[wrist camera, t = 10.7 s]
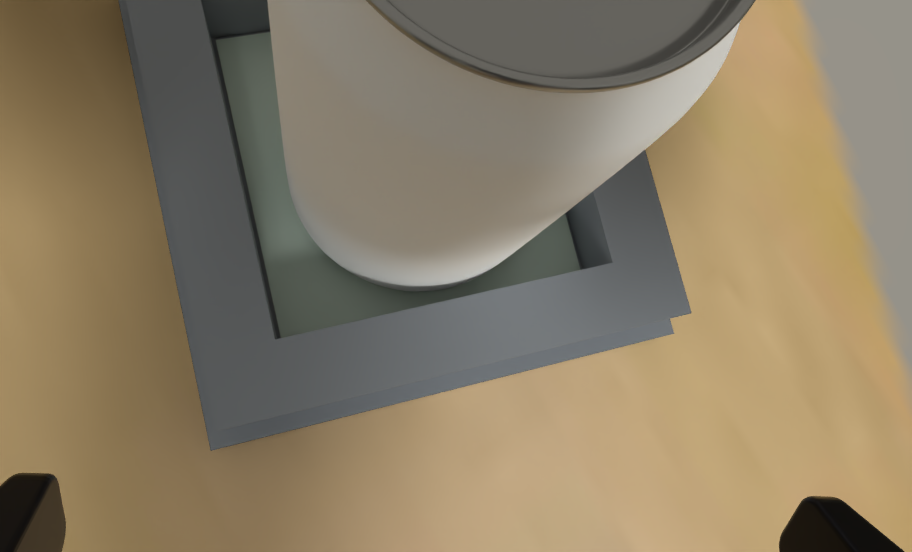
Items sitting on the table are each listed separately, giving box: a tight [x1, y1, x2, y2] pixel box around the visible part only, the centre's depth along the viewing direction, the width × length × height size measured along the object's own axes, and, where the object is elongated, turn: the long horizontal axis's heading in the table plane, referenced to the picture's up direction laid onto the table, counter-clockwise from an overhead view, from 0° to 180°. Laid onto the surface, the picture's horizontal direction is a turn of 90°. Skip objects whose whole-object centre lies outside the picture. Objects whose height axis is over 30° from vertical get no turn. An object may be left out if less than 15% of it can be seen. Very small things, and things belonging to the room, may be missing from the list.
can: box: [267, 0, 755, 291], centre depth 14 cm, size 6×6×12 cm
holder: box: [119, 0, 691, 450], centre depth 20 cm, size 12×12×3 cm
